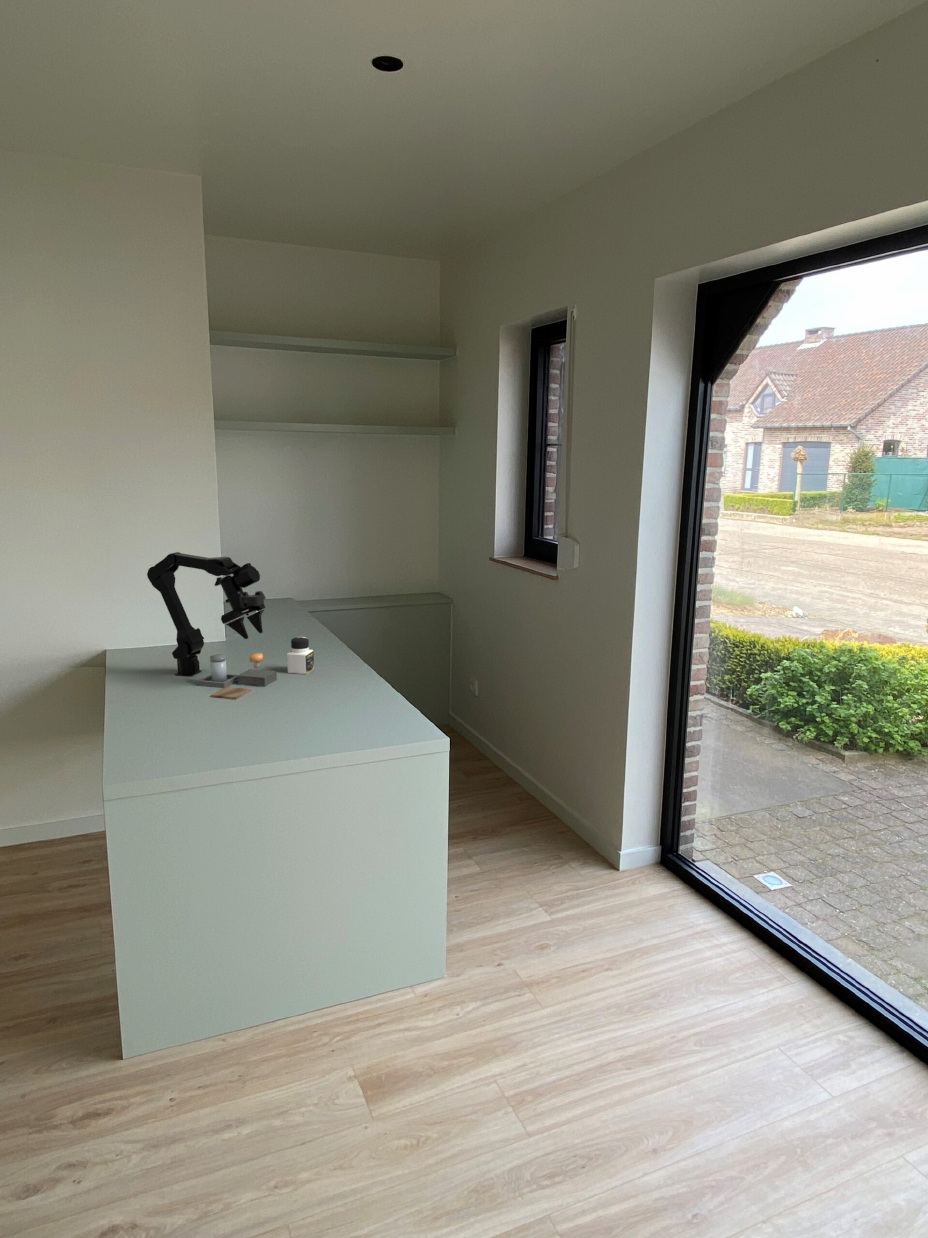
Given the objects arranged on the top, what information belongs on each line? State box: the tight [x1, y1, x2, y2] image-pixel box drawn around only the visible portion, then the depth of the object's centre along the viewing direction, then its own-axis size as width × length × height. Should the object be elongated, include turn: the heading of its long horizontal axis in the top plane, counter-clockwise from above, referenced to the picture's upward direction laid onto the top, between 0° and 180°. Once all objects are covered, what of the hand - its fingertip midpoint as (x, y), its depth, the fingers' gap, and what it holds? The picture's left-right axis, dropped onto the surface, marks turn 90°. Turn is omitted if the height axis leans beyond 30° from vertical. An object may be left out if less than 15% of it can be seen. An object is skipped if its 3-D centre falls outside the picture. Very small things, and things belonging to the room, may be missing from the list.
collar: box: [197, 673, 239, 689], centre depth 268 cm, size 10×10×2 cm
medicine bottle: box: [286, 636, 315, 675], centre depth 280 cm, size 7×7×12 cm
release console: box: [237, 668, 278, 687], centre depth 268 cm, size 10×8×3 cm
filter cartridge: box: [209, 654, 228, 682], centre depth 267 cm, size 5×5×9 cm
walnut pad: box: [210, 686, 252, 700], centre depth 256 cm, size 9×9×1 cm
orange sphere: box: [248, 652, 264, 669], centre depth 267 cm, size 4×4×4 cm
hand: (254, 635), depth 266 cm, fingers open, 9 cm apart
